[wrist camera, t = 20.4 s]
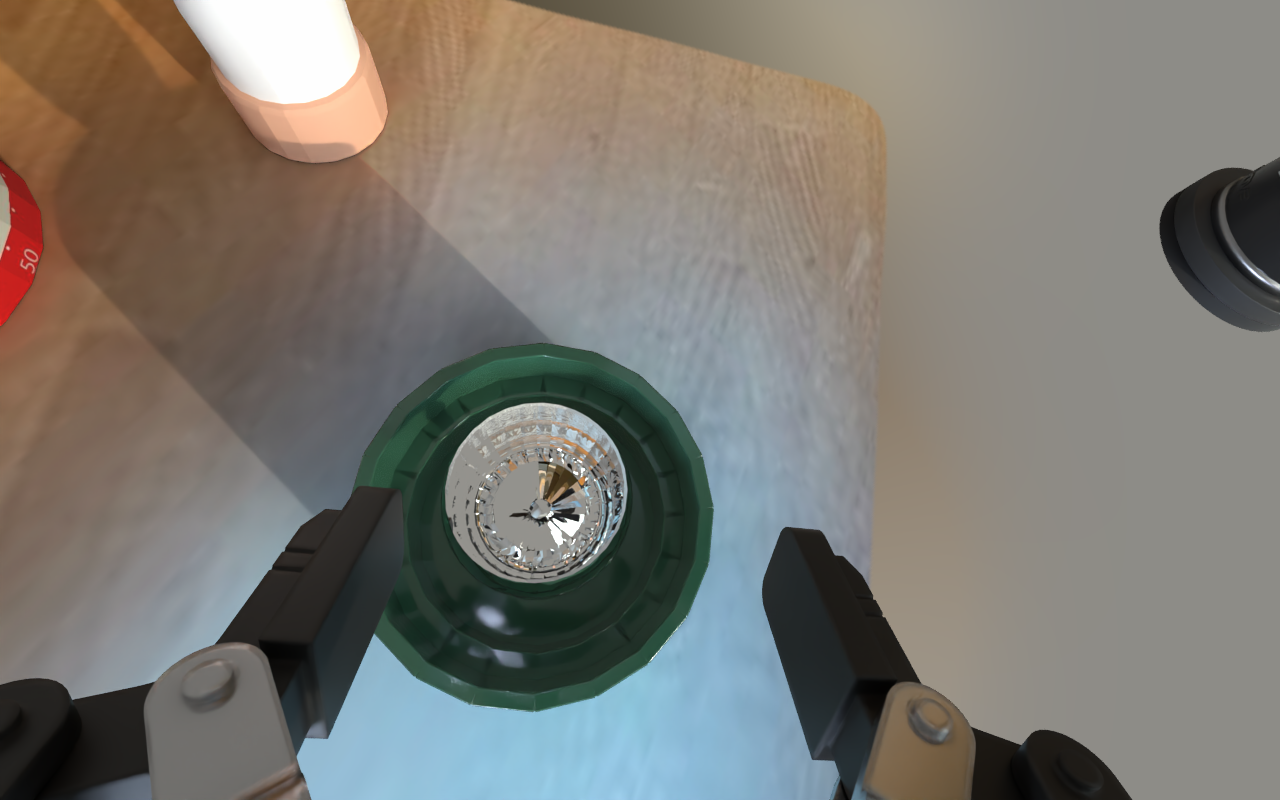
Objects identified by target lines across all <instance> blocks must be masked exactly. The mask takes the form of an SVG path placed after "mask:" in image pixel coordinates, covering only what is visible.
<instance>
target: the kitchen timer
mask: <svg viewBox="0 0 1280 800" xmlns="http://www.w3.org/2000/svg"><path fill="white" fill-rule="evenodd" d="M42 249H43V237H42V225H41V213H40V210H39V208H38V206H37V204H36V202H35V200H34V198H33V197H32V195H31V193H30V191H29V189H28V187H27V185H26V183H25V182H24V180H23V179H22V178H20V177H19V176H18V175H17V174H16V173H15V172H14V171H12V170H11V169H10V168H9V167H8V166H7V165H5V164H4V163H3V162H2V161H1V160H0V326H1V325H2V324H3V323H4V322H6V320H7V319H8V317H9V316H10V315H11V313H12V312H13V310H14V309H15V307H16V306H17V305H18V303H19V302H20V300H21V299H22V297H23V296H24V295H25V293H26V292H27V290H28V289H29V287H30V286H31V285H32V282H33V278H34V275H35V272H36V269H37V265H38V262H39V259H40V256H41V252H42Z"/></svg>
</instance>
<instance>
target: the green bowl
mask: <svg viewBox="0 0 1280 800" xmlns="http://www.w3.org/2000/svg"><path fill="white" fill-rule="evenodd" d="M528 403H549V404H556V405H561V406H564V407H567V408H570V409H573V410H576V411H578V412H580V413H582V414H584V415H585V416H587V417H589V418H590V419H591V420H593V421H594V422H595V423H597V424H598V425H599V426H600V427H601V428H602V429H603V430H604V431H605V432H606V433H607V434H608V435H609V436H610V437H611V439H612V440H613V441H614V443H615V444H616V445H617V447H618V448H619V450H620V452H621V453H622V455H623V458H624V460H625V463H626V465H627V468H628V470H629V473H630V478H631V482H632V491H633V511H632V517H631V522H630V526H629V529H628V532H627V535H626V538H625V540H624V542H623V544H622V546H621V548H620V549H619V551H618V553H617V555H616V557H615V558H614V560H613V561H612V562H611V563H610V564H609V565H608V566H607V568H606V569H605V570H604V571H603V572H602V573H601V574H600V575H599V576H598V577H597V578H595V579H594V580H593V581H591V582H590V583H588V584H587V585H586V586H584V587H583V588H581V589H579V590H576V591H574V592H572V593H570V594H567V595H565V596H561V597H558V598H553V599H548V600H520V599H515V598H510V597H506V596H504V595H501V594H498V593H496V592H493V591H491V590H490V589H488V588H486V587H485V586H483V585H481V584H480V583H478V582H477V581H476V580H475V579H474V578H473V577H471V576H470V575H469V574H468V573H467V572H466V571H465V569H464V568H463V567H462V566H461V564H460V563H459V562H458V561H457V559H456V558H455V556H454V554H453V552H452V550H451V549H450V547H449V545H448V542H447V539H446V536H445V533H444V530H443V525H442V519H441V492H442V487H443V482H444V477H445V473H446V470H447V467H448V465H449V463H450V460H451V458H452V457H453V455H454V453H455V452H456V450H457V449H458V447H459V445H460V444H461V442H462V441H463V440H464V439H465V438H466V437H467V436H468V435H469V433H470V432H471V431H472V430H473V429H474V428H475V427H476V426H478V425H479V424H480V423H482V422H483V421H484V420H486V419H487V418H489V417H490V416H492V415H494V414H496V413H498V412H500V411H502V410H504V409H507V408H510V407H514V406H518V405H522V404H528ZM359 486H371V487H382V488H392V489H399V490H400V491H401V493H402V503H403V526H404V557H403V563H402V567H401V571H400V574H399V577H398V579H397V582H396V584H395V586H394V589H393V591H392V593H391V595H390V598H389V600H388V602H387V605H386V607H385V609H384V611H383V614H382V616H381V618H380V621H379V623H378V625H377V627H376V630H375V632H374V634H375V635H376V636H377V637H378V638H379V639H380V640H381V642H382V643H383V644H384V645H385V646H386V647H387V648H388V649H389V650H390V651H391V652H392V653H393V655H394V656H395V657H396V658H397V659H398V660H399V661H400V662H401V663H402V664H403V665H404V666H405V668H406V669H407V670H408V671H409V672H410V673H411V674H412V675H413V676H414V677H415V676H416V678H417V679H419V680H421V681H423V682H425V683H427V684H429V685H431V686H433V687H435V688H437V689H439V690H441V691H443V692H445V693H447V694H449V695H451V696H453V697H455V698H457V699H459V700H461V701H463V702H465V703H467V704H469V705H473V706H478V707H488V708H498V709H507V710H517V711H526V712H534V711H535V712H538V711H542V710H547V709H551V708H555V707H559V706H563V705H567V704H571V703H575V702H579V701H583V700H588V699H592V698H595V697H596V696H599V695H601V694H602V693H604V692H605V691H607V690H609V689H610V688H612V687H613V686H615V685H616V684H618V683H620V682H621V681H623V680H624V679H626V678H627V677H629V676H631V675H632V674H634V673H635V672H637V671H638V670H640V669H642V668H643V667H645V666H646V665H647V664H648V663H650V662H651V661H652V659H653V658H654V657H655V656H656V655H657V653H658V652H659V651H660V650H661V648H662V647H663V646H664V645H665V644H666V642H667V641H668V640H669V639H670V638H671V636H672V635H673V634H674V633H675V632H676V630H677V629H678V628H679V627H680V625H681V624H682V623H683V622H684V621H685V619H686V617H687V616H688V614H689V612H690V609H691V607H692V604H693V602H694V599H695V597H696V594H697V592H698V590H699V587H700V585H701V582H702V580H703V577H704V575H705V572H706V570H707V567H708V563H709V558H710V547H711V535H712V523H713V512H714V509H713V502H712V498H711V493H710V488H709V484H708V479H707V475H706V470H705V465H704V461H703V457H702V454H701V452H700V450H699V448H698V447H697V445H696V443H695V441H694V440H693V438H692V436H691V434H690V432H689V431H688V429H687V427H686V425H685V423H684V422H683V420H682V418H681V416H680V414H679V413H678V411H676V409H675V408H674V407H673V406H672V405H671V404H670V403H669V402H668V401H667V400H666V399H664V398H663V397H662V396H661V395H660V394H659V393H658V392H657V391H656V390H655V389H654V388H653V387H652V386H651V385H650V384H649V383H648V382H647V381H646V380H645V379H644V378H643V377H642V376H640V375H639V374H637V373H635V372H633V371H631V370H629V369H627V368H625V367H623V366H621V365H619V364H617V363H615V362H614V361H612V360H610V359H608V358H606V357H604V356H602V355H600V354H598V353H594V352H592V351H586V350H581V349H575V348H570V347H564V346H559V345H553V344H548V343H544V344H543V343H538V344H529V345H519V346H510V347H501V348H492V349H488V350H486V351H483V352H481V353H479V354H476V355H474V356H471V357H469V358H466V359H464V360H462V361H459V362H457V363H454V364H452V365H450V366H447V367H445V368H442V369H441V370H439V371H438V372H436V373H435V374H434V375H433V376H431V377H430V378H429V379H428V380H427V381H425V382H424V383H423V384H422V385H420V386H419V387H418V388H417V389H415V390H414V391H413V392H412V393H411V394H409V395H408V396H407V397H406V398H404V399H403V400H402V401H401V402H399V403H398V404H397V405H396V407H395V408H394V409H393V411H392V412H391V414H390V415H389V416H388V418H387V419H386V421H385V422H384V424H383V425H382V427H381V428H380V430H379V431H378V433H377V434H376V436H375V437H374V439H373V440H372V442H371V443H370V445H369V446H368V448H367V449H366V451H365V452H364V455H363V456H362V460H361V463H360V466H359V470H358V473H357V477H356V480H355V484H354V487H353V490H352V494H353V492H354V491H355V490H356V488H357V487H359ZM352 494H351V496H352Z"/></svg>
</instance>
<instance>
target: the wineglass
mask: <svg viewBox="0 0 1280 800" xmlns="http://www.w3.org/2000/svg"><path fill="white" fill-rule="evenodd" d="M632 511H633V491H632V482H631V478H630V473H629V470H628V468H627V465H626V463H625V460H624V458H623V455H622V453H621V452H620V450H619V448H618V447H617V445H616V444H615V443H614V441H613V440H612V439H611V437H610V436H609V435H608V434H607V433H606V432H605V431H604V430H603V429H602V428H601V427H600V426H599V425H598V424H597V423H595V422H594V421H593V420H591V419H590V418H589V417H587V416H585V415H584V414H582V413H580V412H578V411H576V410H573V409H570V408H567V407H564V406H561V405H556V404H549V403H528V404H522V405H518V406H514V407H510V408H507V409H504V410H502V411H500V412H498V413H496V414H494V415H492V416H490V417H489V418H487V419H486V420H484V421H483V422H482V423H480V424H479V425H478V426H476V427H475V428H474V429H473V430H472V431H471V432H470V433H469V435H468V436H467V437H466V438H465V439H464V440H463V441H462V442H461V444H460V445H459V447H458V449H457V450H456V452H455V453H454V455H453V457H452V458H451V460H450V463H449V465H448V467H447V470H446V473H445V477H444V482H443V487H442V492H441V519H442V525H443V530H444V533H445V536H446V539H447V542H448V545H449V547H450V549H451V550H452V552H453V554H454V556H455V558H456V559H457V561H458V562H459V563H460V564H461V566H462V567H463V568H464V569H465V571H466V572H467V573H468V574H469V575H470V576H471V577H473V578H474V579H475V580H476V581H477V582H478V583H480V584H481V585H483V586H485V587H486V588H488V589H490V590H491V591H493V592H496V593H498V594H501V595H504V596H506V597H510V598H515V599H520V600H548V599H553V598H558V597H561V596H565V595H567V594H570V593H572V592H574V591H576V590H579V589H581V588H583V587H584V586H586V585H587V584H588V583H590V582H591V581H593V580H594V579H595V578H597V577H598V576H599V575H600V574H601V573H602V572H603V571H604V570H605V569H606V568H607V566H608V565H609V564H610V563H611V562H612V561H613V560H614V558H615V557H616V555H617V553H618V551H619V549H620V548H621V546H622V544H623V542H624V540H625V538H626V535H627V532H628V529H629V526H630V522H631V517H632Z"/></svg>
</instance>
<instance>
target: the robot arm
mask: <svg viewBox="0 0 1280 800" xmlns="http://www.w3.org/2000/svg"><path fill="white" fill-rule="evenodd" d="M1211 219H1212V225H1213V229H1214V232H1215V235H1216V237H1217V240H1218V242H1219V244H1220V246H1221V247H1222V249H1223V251H1224V252H1225V254H1226V255H1227V257H1228V258H1229V259H1230V261H1231V262H1232V263H1233V264H1234V266H1235V267H1236V268H1237V269H1238V270H1239V271H1240V272H1241V273H1242V274H1243V275H1244V276H1245V277H1246V278H1248V279H1249V280H1250V281H1251V282H1253V283H1254V284H1255V285H1257V286H1258V287H1260V288H1261V289H1263V290H1265V291H1267V292H1269V293H1271V294H1273V295H1275V296H1278V297H1280V157H1279V158H1277V159H1275V160H1274V161H1272V162H1270V163H1268V164H1267V165H1263V166H1262V167H1260V168H1258V169H1256V170H1254V171H1253V172H1251V173H1249V175H1247V176H1244V177H1241V178H1239V179H1237V180H1235V181H1233V182H1231V183H1230V184H1228V185H1226V186H1224V187H1223V188H1221V189H1220V190H1219V191H1218V193H1217V194H1216V195H1215V197H1214V199H1213V202H1212V207H1211ZM403 557H404V526H403V503H402V493H401V491H400V490H399V489H392V488H382V487H371V486H359V487H357V488H356V490H355V491H354V492H353V494H352V496H351V497H350V499H349V500H348V502H347V503H346V505H345V506H344V508H343V509H342V510H331V509H325V510H323V511H322V512H320V513H319V514H318V515H316V516H315V517H313V518H312V519H310V520H309V521H308V522H306V523H305V524H303V525H302V526H301V527H300V528H299V529H298V531H297V532H296V534H295V535H294V536H293V538H292V539H291V541H290V542H289V543H288V545H287V546H286V547H285V552H282V553H281V554H280V556H279V557H278V559H277V560H276V561H275V563H274V564H273V567H272V570H269V571H268V572H267V574H266V575H265V576H264V578H263V579H262V581H261V582H260V583H259V585H258V586H257V588H256V589H255V590H254V592H253V593H252V594H251V596H250V597H249V599H248V600H247V601H246V603H245V604H244V606H243V607H242V608H241V610H240V611H239V612H238V614H237V615H236V617H235V618H234V619H233V621H232V622H231V624H230V625H229V626H228V628H227V629H226V630H225V632H224V633H223V635H222V636H221V637H220V639H219V640H218V641H217V642H216V644H215V645H213V646H210V647H206V648H203V649H201V650H199V651H196V652H194V653H192V654H190V655H188V656H186V657H185V658H183V659H181V660H180V661H178V662H177V663H175V664H174V665H172V666H171V667H170V668H169V669H168V670H167V671H165V672H164V673H163V674H162V675H161V676H160V677H159V678H158V680H157V681H155V682H152V683H149V684H145V685H141V686H137V687H132V688H128V689H123V690H118V691H113V692H108V693H104V694H99V695H94V696H89V697H84V698H80V699H75V700H72V699H71V697H70V695H69V693H68V691H67V689H66V688H65V687H64V686H63V685H62V684H60V683H58V682H57V681H53V680H50V679H41V678H35V679H24V680H18V681H13V682H9V683H6V684H2V685H0V800H311V797H310V794H309V790H308V787H307V784H306V781H305V778H304V775H303V773H301V770H300V767H299V764H298V761H297V757H296V756H297V754H298V752H299V750H300V748H301V746H302V743H303V741H304V739H305V738H321V739H328V737H329V735H330V732H331V730H332V728H333V726H334V723H335V721H336V719H337V716H338V714H339V712H340V710H341V707H342V705H343V703H344V700H345V698H346V696H347V694H348V691H349V689H350V687H351V685H352V682H353V680H354V678H355V675H356V673H357V671H358V669H359V666H360V664H361V662H362V659H363V657H364V655H365V653H366V650H367V648H368V646H369V643H370V641H371V639H372V637H373V634H374V632H375V630H376V627H377V625H378V623H379V621H380V618H381V616H382V614H383V611H384V609H385V607H386V605H387V602H388V600H389V598H390V595H391V593H392V591H393V589H394V586H395V584H396V582H397V579H398V577H399V574H400V571H401V567H402V563H403ZM762 598H763V605H764V609H765V612H766V615H767V618H768V621H769V625H770V628H771V631H772V634H773V637H774V640H775V644H776V647H777V650H778V653H779V656H780V659H781V663H782V666H783V669H784V672H785V675H786V678H787V682H788V685H789V688H790V691H791V694H792V697H793V701H794V704H795V707H796V710H797V713H798V716H799V720H800V723H801V726H802V729H803V732H804V735H805V739H806V742H807V745H808V748H809V751H810V754H811V758H812V760H830V761H835V763H836V766H837V769H838V772H839V777H838V778H837V780H836V782H835V784H834V787H833V790H832V793H831V796H830V799H829V800H1132V799H1131V797H1130V796H1129V795H1128V793H1127V792H1126V791H1125V789H1124V788H1123V786H1122V785H1121V783H1120V782H1119V781H1118V779H1117V778H1116V777H1115V775H1114V774H1113V773H1112V771H1111V770H1110V769H1109V768H1108V767H1107V766H1106V765H1105V764H1104V763H1103V762H1102V761H1101V760H1100V759H1099V758H1098V757H1097V756H1096V755H1095V754H1093V753H1092V752H1091V751H1090V750H1089V749H1087V748H1086V747H1084V746H1083V745H1082V744H1080V743H1079V742H1077V741H1075V740H1073V739H1072V738H1070V737H1068V736H1066V735H1063V734H1061V733H1057V732H1054V731H1050V730H1038V731H1035V732H1033V733H1032V734H1031V735H1030V736H1029V737H1028V738H1027V739H1026V741H1025V742H1024V743H1023V744H1022V745H1019V744H1016V743H1014V742H1011V741H1008V740H1005V739H1003V738H1000V737H997V736H994V735H992V734H989V733H986V732H983V731H981V730H978V729H975V728H973V727H971V726H970V725H969V723H968V721H967V720H966V718H965V717H964V715H963V714H962V713H961V712H960V710H959V709H958V708H957V707H956V706H955V705H954V704H953V703H951V701H950V700H948V699H947V698H946V697H945V696H943V695H942V694H940V693H939V692H937V691H936V690H934V689H932V688H930V687H928V686H925V685H922V684H921V682H920V680H919V679H918V677H917V675H916V673H915V671H914V670H913V668H912V666H911V664H910V662H909V660H908V659H907V657H906V655H905V653H904V651H903V649H902V647H901V646H900V644H899V642H898V640H897V638H896V636H895V635H894V633H893V631H892V629H891V627H890V626H889V624H888V622H887V620H886V618H885V617H883V616H882V611H881V609H880V607H879V605H878V604H877V602H876V600H873V594H872V593H871V591H870V589H869V587H868V585H867V583H866V582H865V580H864V578H863V576H862V575H861V574H860V573H859V572H858V571H857V570H856V569H855V568H854V567H853V566H852V565H851V564H850V563H849V562H848V561H847V560H846V559H845V558H844V557H843V556H835V555H834V553H833V551H832V549H831V547H830V545H829V543H828V541H827V539H826V537H825V536H824V534H823V533H822V532H821V531H820V530H814V529H803V528H793V527H785V528H784V529H783V530H782V531H781V533H780V535H779V538H778V541H777V544H776V546H775V549H774V552H773V554H772V557H771V560H770V563H769V565H768V568H767V571H766V573H765V576H764V580H763V587H762Z"/></svg>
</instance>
